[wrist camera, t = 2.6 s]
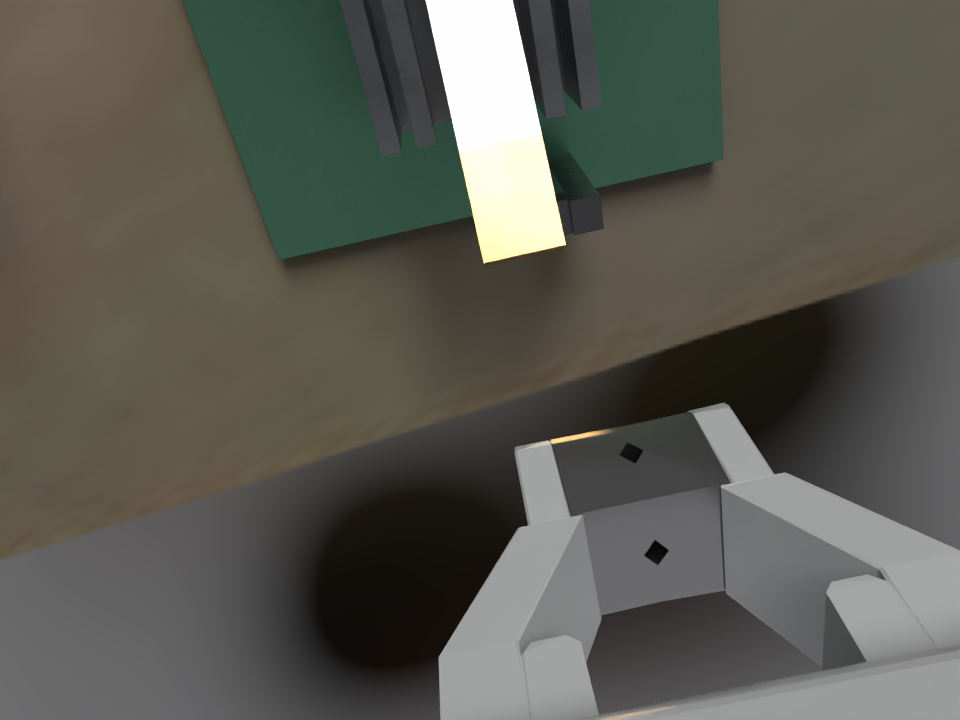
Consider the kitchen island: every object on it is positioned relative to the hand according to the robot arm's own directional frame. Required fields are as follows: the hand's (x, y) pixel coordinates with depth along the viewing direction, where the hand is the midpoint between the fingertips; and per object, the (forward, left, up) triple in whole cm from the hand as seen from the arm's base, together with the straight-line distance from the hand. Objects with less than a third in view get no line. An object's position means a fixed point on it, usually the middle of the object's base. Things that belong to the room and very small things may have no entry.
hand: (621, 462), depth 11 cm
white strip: (0, +4, -14) cm, 15 cm away
